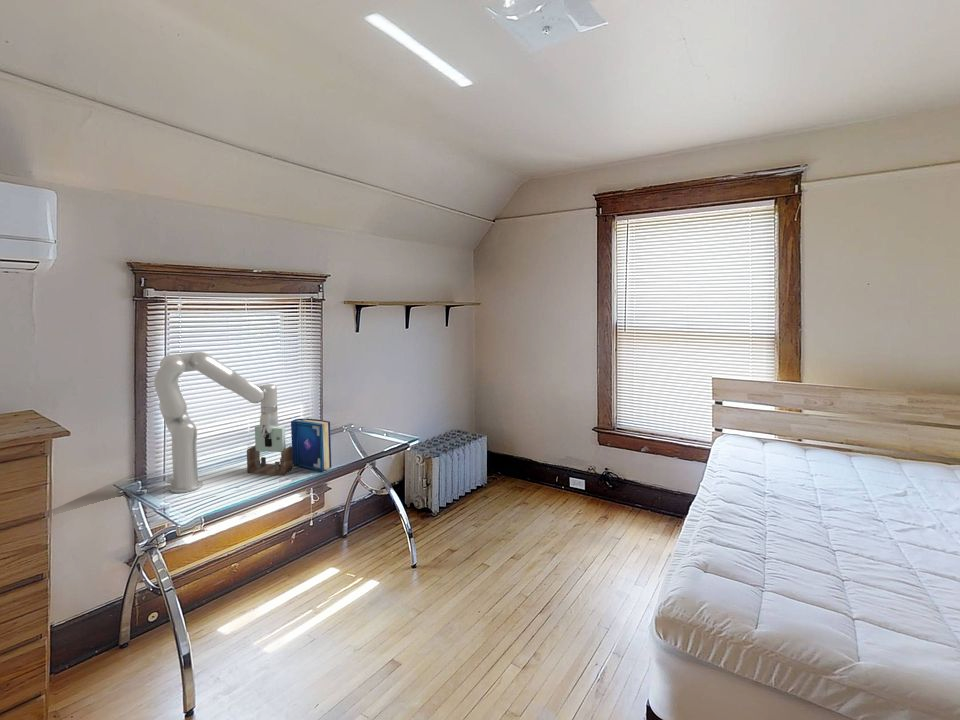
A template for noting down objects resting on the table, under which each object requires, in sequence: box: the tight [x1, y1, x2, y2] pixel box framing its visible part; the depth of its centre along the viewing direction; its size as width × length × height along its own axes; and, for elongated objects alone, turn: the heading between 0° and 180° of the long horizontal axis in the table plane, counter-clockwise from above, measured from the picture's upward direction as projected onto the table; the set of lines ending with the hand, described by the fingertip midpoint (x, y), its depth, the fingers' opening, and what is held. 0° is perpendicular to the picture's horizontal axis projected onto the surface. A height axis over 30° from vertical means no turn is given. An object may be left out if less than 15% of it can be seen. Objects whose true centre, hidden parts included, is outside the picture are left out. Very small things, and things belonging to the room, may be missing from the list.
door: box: [254, 425, 287, 453], centre depth 241 cm, size 14×4×12 cm, turn 86°
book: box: [290, 418, 332, 472], centre depth 249 cm, size 22×7×25 cm, turn 67°
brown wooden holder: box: [246, 445, 294, 476], centre depth 242 cm, size 19×9×12 cm, turn 86°
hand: (270, 445), depth 241 cm, fingers closed on door, 3 cm apart
